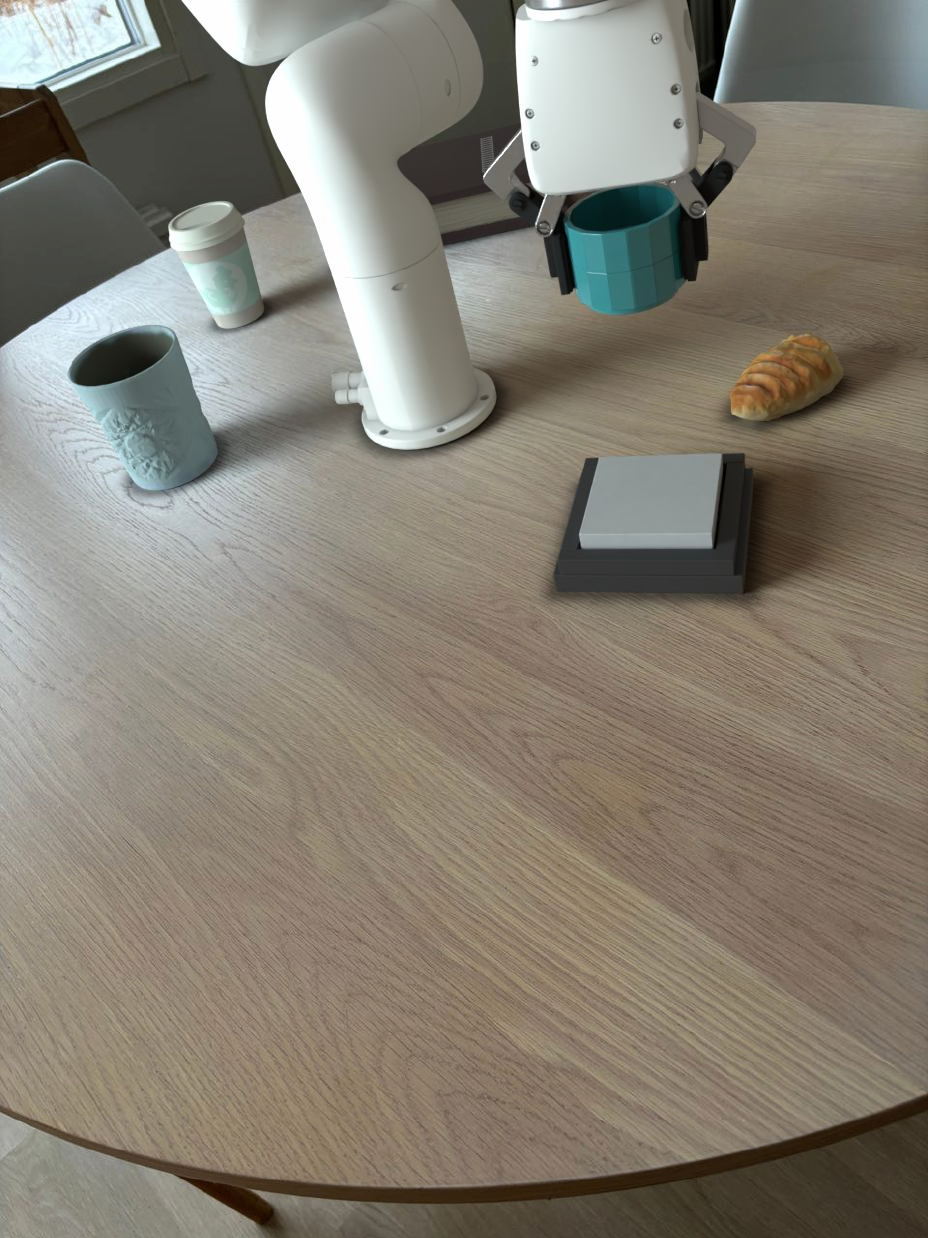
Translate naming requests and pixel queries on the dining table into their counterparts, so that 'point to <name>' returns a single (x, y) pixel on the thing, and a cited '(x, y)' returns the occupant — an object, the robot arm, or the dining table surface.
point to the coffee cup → (218, 261)
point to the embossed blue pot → (146, 405)
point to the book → (465, 184)
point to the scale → (663, 566)
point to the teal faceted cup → (625, 248)
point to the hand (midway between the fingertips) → (629, 276)
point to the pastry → (786, 379)
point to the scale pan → (653, 502)
